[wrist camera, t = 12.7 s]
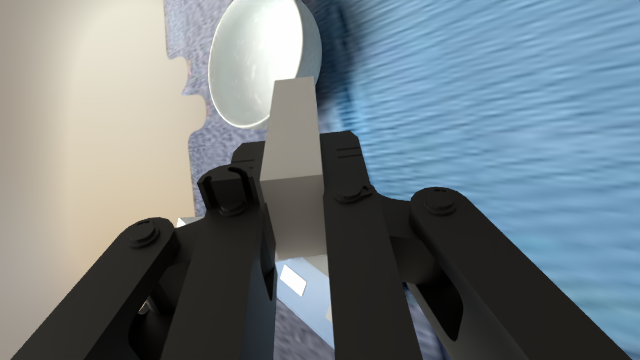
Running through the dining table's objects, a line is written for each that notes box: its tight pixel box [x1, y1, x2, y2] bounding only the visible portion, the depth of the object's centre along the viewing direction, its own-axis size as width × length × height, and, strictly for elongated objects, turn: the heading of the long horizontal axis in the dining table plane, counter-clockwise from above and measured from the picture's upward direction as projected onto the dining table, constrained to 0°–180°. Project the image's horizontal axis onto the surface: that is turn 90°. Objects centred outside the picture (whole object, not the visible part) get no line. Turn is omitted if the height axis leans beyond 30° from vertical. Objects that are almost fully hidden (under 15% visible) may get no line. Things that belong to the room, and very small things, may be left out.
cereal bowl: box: [208, 0, 322, 130], centre depth 46 cm, size 17×17×7 cm
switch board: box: [275, 254, 334, 349], centre depth 42 cm, size 16×16×2 cm
